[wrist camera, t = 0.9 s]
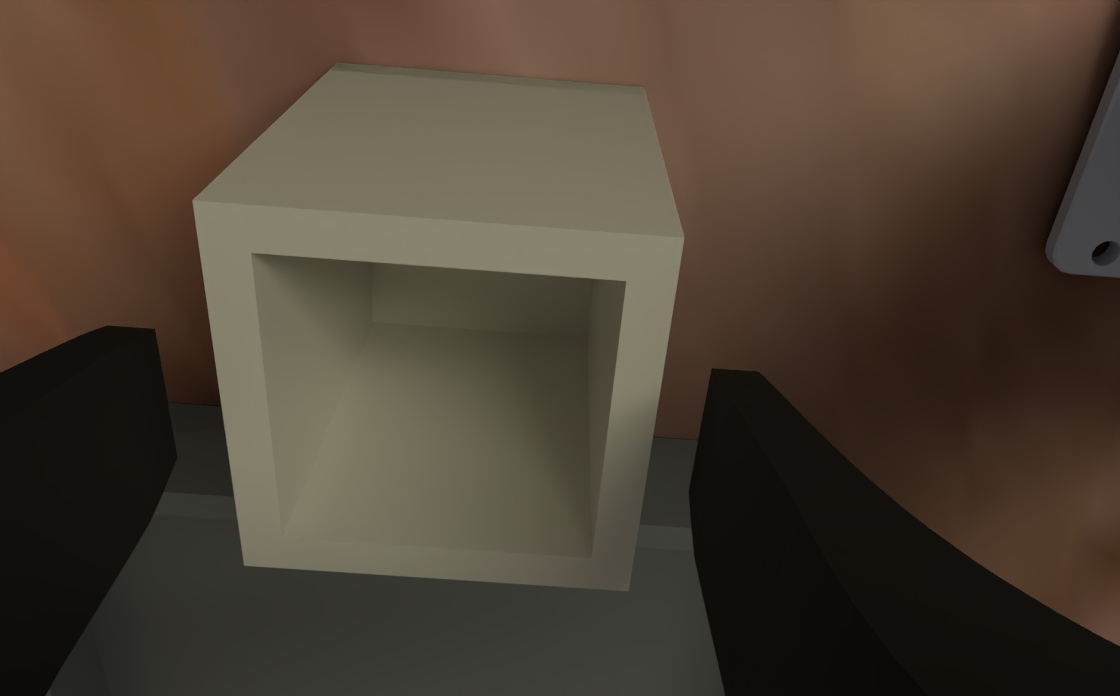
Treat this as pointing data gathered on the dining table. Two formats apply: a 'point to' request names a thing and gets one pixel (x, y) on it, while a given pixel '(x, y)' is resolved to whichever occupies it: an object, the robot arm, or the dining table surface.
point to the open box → (443, 326)
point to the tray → (384, 610)
